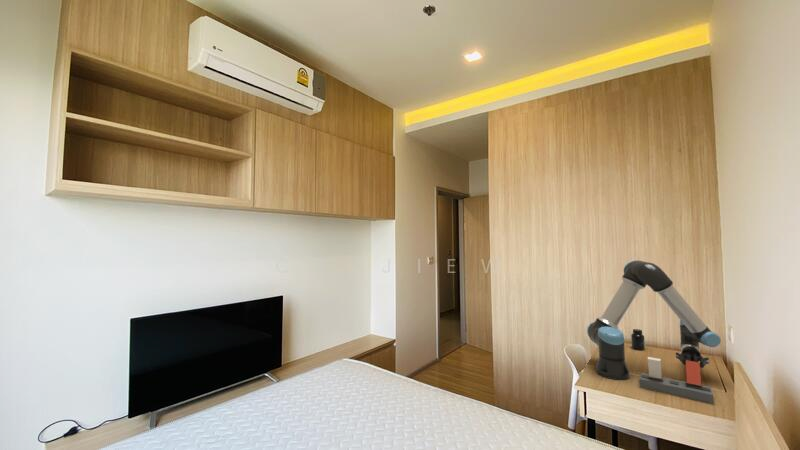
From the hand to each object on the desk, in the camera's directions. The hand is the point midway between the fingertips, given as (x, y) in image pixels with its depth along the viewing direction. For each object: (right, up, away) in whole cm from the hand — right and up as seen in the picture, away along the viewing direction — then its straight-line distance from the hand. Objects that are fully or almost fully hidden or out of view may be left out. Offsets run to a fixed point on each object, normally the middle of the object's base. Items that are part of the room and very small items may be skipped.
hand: (694, 368), depth 153 cm
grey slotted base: (-8, -11, +1) cm, 14 cm away
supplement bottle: (+15, -12, +55) cm, 59 cm away
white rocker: (-14, -7, +6) cm, 16 cm away
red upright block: (-3, -6, -3) cm, 8 cm away
